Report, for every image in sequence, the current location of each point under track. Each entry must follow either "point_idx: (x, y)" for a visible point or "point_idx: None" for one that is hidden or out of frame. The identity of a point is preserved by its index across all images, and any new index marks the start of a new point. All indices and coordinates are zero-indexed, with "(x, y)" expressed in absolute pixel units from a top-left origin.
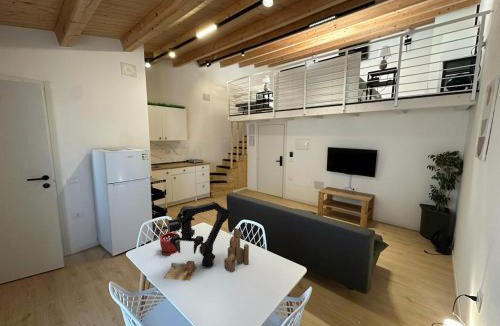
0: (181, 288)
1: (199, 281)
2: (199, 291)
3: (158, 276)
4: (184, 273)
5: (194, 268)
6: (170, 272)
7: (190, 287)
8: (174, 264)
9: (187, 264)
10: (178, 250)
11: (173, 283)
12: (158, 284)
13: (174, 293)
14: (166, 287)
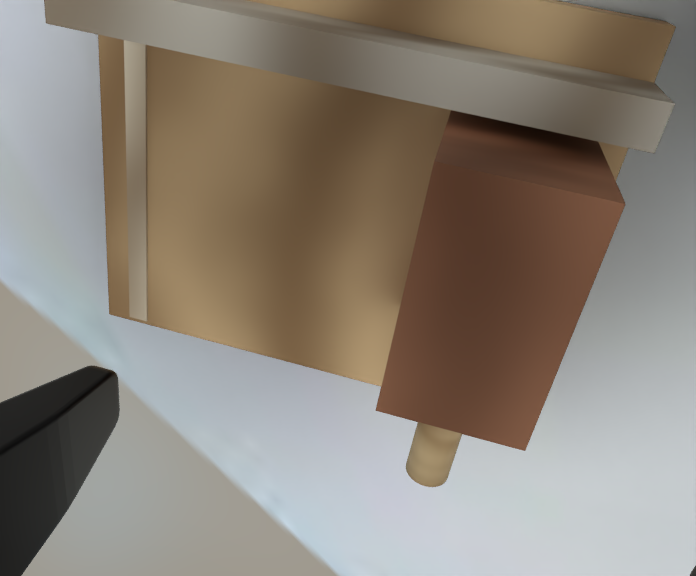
0: None
1: (676, 405)
2: (662, 570)
3: (21, 203)
4: (424, 459)
5: (597, 143)
6: (153, 182)
7: (538, 489)
8: (126, 36)
9: (446, 332)
10: (16, 556)
11: (291, 380)
12: (113, 366)
13: (358, 533)
14: (232, 432)
